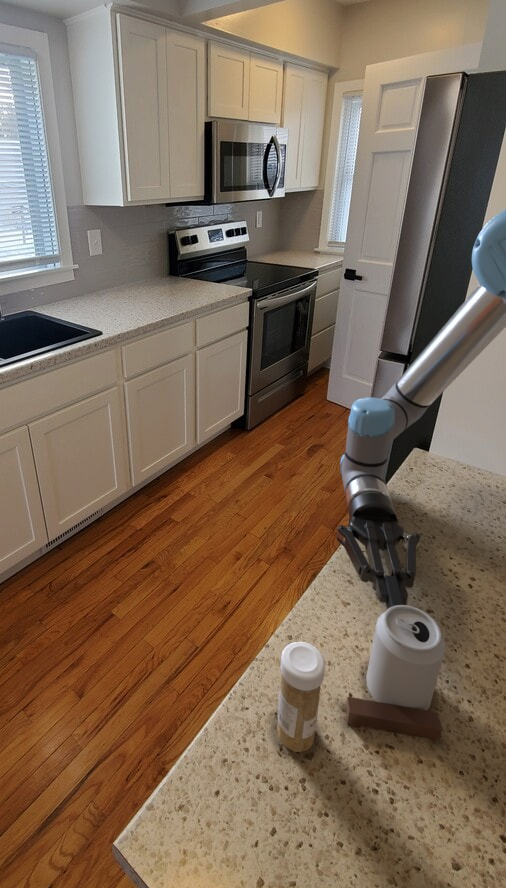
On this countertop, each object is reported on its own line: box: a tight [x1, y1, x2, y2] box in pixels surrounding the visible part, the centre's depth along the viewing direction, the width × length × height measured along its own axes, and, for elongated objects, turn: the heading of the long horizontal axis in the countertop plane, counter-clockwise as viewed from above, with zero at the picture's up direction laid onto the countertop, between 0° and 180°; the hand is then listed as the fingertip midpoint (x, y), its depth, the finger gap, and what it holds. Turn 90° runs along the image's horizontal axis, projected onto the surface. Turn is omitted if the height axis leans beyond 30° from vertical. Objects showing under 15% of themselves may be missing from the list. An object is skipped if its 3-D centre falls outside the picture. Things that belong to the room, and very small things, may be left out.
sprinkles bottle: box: [276, 641, 326, 753], centre depth 54 cm, size 5×5×14 cm
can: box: [365, 604, 446, 711], centre depth 59 cm, size 8×8×12 cm
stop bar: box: [344, 696, 443, 742], centre depth 57 cm, size 10×2×3 cm, turn 79°
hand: (398, 620), depth 64 cm, fingers closed
